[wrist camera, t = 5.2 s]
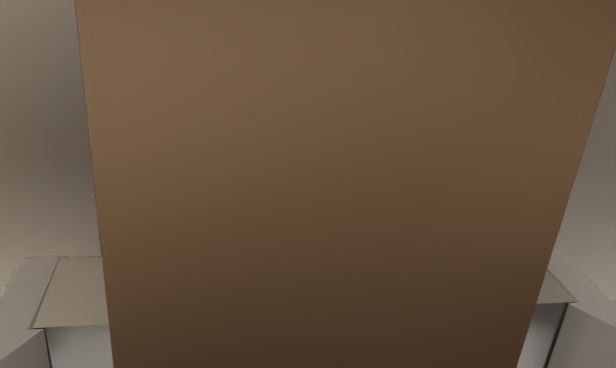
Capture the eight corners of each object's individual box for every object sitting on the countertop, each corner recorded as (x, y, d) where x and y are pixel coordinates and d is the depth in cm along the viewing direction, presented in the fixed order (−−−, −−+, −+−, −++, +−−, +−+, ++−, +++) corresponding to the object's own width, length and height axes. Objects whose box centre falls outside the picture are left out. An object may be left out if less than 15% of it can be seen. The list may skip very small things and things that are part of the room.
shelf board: (104, -464, 6) (-22, -905, 3) (525, -389, 7) (832, -654, 4) (167, 545, 14) (154, 759, 11) (362, 523, 15) (409, 715, 12)
